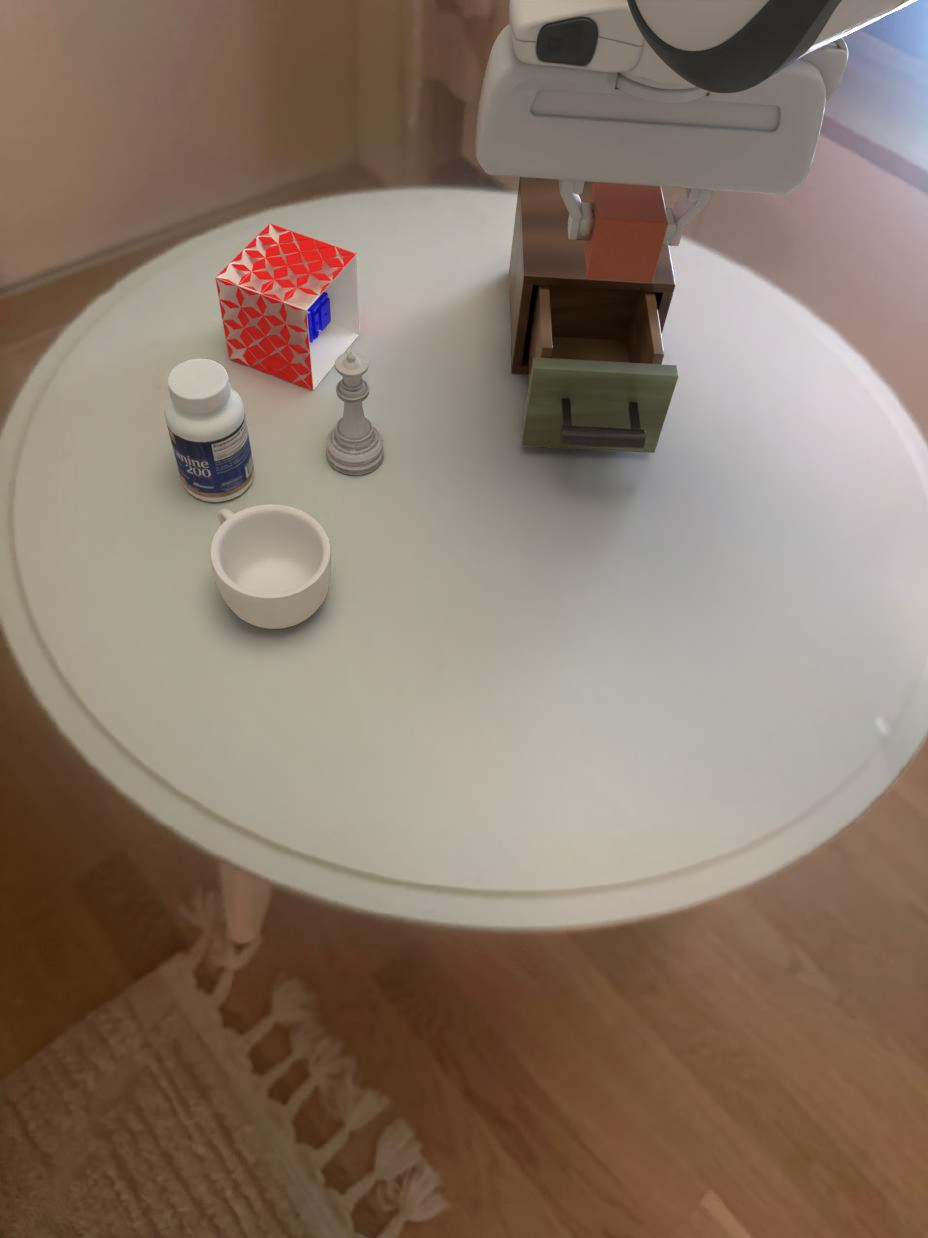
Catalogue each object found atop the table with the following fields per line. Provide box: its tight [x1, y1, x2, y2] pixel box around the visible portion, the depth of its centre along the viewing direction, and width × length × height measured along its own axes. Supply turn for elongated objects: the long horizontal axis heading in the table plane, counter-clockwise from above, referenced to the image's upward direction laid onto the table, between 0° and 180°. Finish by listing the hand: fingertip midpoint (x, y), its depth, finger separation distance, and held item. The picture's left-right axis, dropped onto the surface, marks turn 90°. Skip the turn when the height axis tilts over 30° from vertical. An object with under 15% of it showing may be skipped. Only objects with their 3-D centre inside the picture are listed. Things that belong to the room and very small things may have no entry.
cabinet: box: [508, 177, 676, 375], centre depth 82 cm, size 14×12×10 cm
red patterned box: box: [215, 223, 360, 391], centre depth 79 cm, size 8×8×8 cm
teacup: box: [209, 503, 333, 630], centre depth 66 cm, size 10×8×5 cm
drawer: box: [521, 285, 679, 454], centre depth 75 cm, size 17×10×8 cm, turn 179°
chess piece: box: [325, 351, 385, 476], centre depth 72 cm, size 4×4×10 cm
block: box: [583, 182, 668, 282], centre depth 64 cm, size 4×4×4 cm
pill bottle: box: [164, 358, 255, 503], centre depth 70 cm, size 5×5×10 cm
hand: (621, 237), depth 65 cm, fingers closed on block, 4 cm apart
